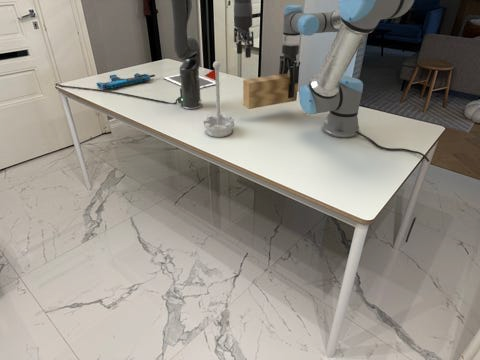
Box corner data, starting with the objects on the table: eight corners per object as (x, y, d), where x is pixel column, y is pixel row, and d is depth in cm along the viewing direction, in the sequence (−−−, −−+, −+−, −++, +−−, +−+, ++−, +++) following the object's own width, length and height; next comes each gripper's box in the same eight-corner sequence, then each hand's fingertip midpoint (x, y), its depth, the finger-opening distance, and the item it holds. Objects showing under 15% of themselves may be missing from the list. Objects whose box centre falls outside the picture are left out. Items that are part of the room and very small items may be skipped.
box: (290, 96, 167) (292, 72, 161) (296, 100, 163) (298, 75, 156) (243, 105, 158) (243, 79, 152) (248, 109, 154) (249, 83, 147)
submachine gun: (140, 68, 226) (159, 74, 209) (142, 73, 228) (160, 80, 211) (89, 77, 207) (104, 85, 190) (90, 84, 209) (106, 92, 192)
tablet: (163, 78, 216) (163, 77, 215) (189, 72, 227) (189, 71, 226) (191, 90, 195) (191, 90, 195) (219, 83, 206) (219, 83, 206)
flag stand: (228, 123, 156) (226, 56, 140) (238, 135, 146) (237, 63, 130) (200, 127, 152) (195, 59, 136) (209, 140, 142) (205, 67, 126)
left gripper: (227, 13, 143) (229, 53, 151) (242, 16, 132) (243, 59, 140) (243, 12, 145) (244, 51, 154) (259, 15, 134) (259, 57, 143)
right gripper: (272, 41, 156) (270, 90, 168) (295, 49, 141) (291, 102, 154) (286, 39, 158) (283, 88, 171) (310, 47, 144) (304, 100, 157)
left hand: (243, 55), depth 147 cm, fingers open, 8 cm apart
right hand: (287, 95), depth 162 cm, fingers closed on box, 6 cm apart
